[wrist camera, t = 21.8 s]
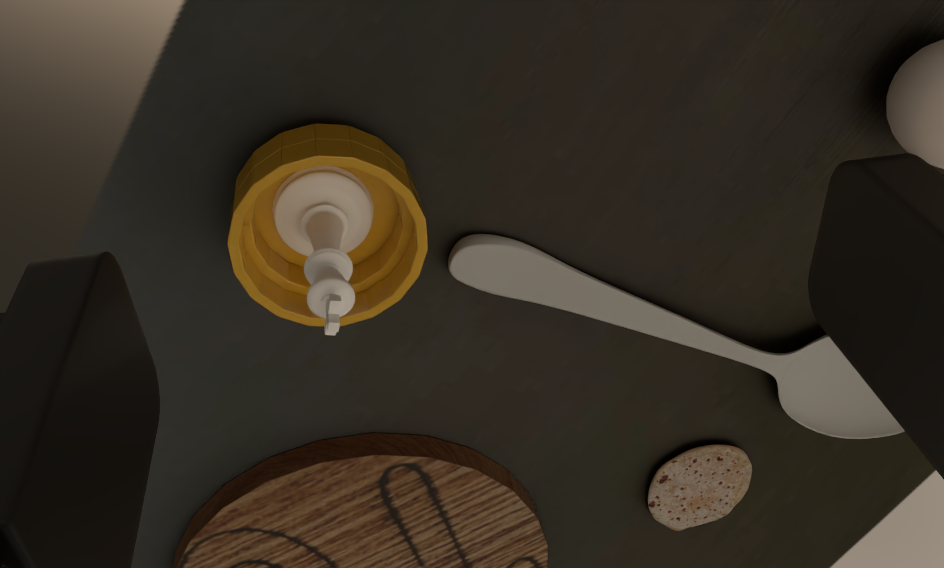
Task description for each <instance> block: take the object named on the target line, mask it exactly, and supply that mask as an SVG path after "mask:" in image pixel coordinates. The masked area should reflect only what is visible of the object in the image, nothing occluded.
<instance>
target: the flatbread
mask: <svg viewBox="0 0 944 568" xmlns="http://www.w3.org/2000/svg"><path fill="white" fill-rule="evenodd" d="M751 474H752V466H751V463H750V460H749V458H748V457H747V455H746V454H745V452H744V451H743V450H741V449H740V448H737V447H734V446H729V445H706V446H701V447H696V448H693V449H690V450H688V451H685V452H684V453H682V454H680V455H678V456H676V457H674V458H673V459H671V460H669V461H667V462H666V463H664V464H663V465H662V466H661V467H660V468H659V469H658V471H657V472H656V474H655V476H654V477H653V480H652V482H651V485H650V487H649V492H648V506H649V510H650V512H651V514H652V516H653V517H654V519H656V520H657V521H658V522H660V523H662V524H664V525H665V526H667V527H668V528H670V529H672V530H676V531H681V530H683V529H685V528H688V527H694V526H697V525H701V524H704V523H708V522H710V521H715V520H717V519H719V518H722V517H723V516H725V515H727V514H728V513H730V511H731V510H732V508H733V507H734V506H735V505H736V504H737V503H738V502H739V501H740V500H741V499H742V498H743V496H744V495H745V493H746V491H747V489H748V487H749V483H750V479H751Z"/></svg>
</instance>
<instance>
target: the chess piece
mask: <svg viewBox="0 0 944 568" xmlns="http://www.w3.org/2000/svg"><path fill="white" fill-rule="evenodd" d="M272 213H273V219H274V223H275V226H276V229H277V231H278V233H279V235H280V237H281V238H282V240H283V241H284V242H285V243H286V244H287V245H288V246H289V247H290V248H292V249H293V250H295V251H296V252H298V253H300V254H303V255H305V256H308V258H307V259H306V261H305V264H304V274H305V277H306V279H307V280H308V281H309V283H310V284H311V286H310V288H309V290H308V293H307V304H308V307H309V308H310V310H311V311H312V312H313V313H314V314H316V315H317V316H319V317H322V318H326V322H325V328H324V329H325V335H336V332H339V326H340V319H339V317H341V316H343V315H345V314H347V313H348V312H349V311H350V310H351V309H352V307H353V305H354V302H355V293H354V290H353V288H352V286H351V285H350V283H349V282H348V281H349V279H350V277H351V275H352V271H353V265H352V261H351V259H350V258H349V256H348V255H347V254H346V253H348V252H350V251H352V250H353V249H355V248H356V247H357V246H358V245H360V244H361V243H362V241H363V240H364V239H365V238H366V236H367V234H368V233H369V230H370V228H371V225H372V220H373V201H372V197H371V195H370V192H369V190H368V189H367V187H366V186H365V184H364V183H363V182H362V181H361V180H360V179H359V178H358V177H357V176H355V175H354V174H352V173H351V172H349V171H347V170H345V169H342V168H339V167H334V166H316V167H312V168H308V169H305V170H301V171H297V172H295V173H294V174H292V175H291V176H290V177H288V178H287V179H286V180H285V181H284V182H283V183H282V184H281V186H280V187H279V189H278V190H277V192H276V194H275V197H274V200H273V207H272Z"/></svg>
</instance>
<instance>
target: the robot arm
mask: <svg viewBox="0 0 944 568" xmlns="http://www.w3.org/2000/svg"><path fill="white" fill-rule="evenodd" d="M808 291H809V298H810V303H811V307H812V310H813V313H814V315H815V317H816V319H817V321H818V323H819V324H820V326H821V327H822V329H823V330H824V331H825V332H826V334H827V335H828V336H829V337H830V338H831V340H832V341H833V342H834V343H835V345H836V346H837V347H838V348H839V350H840V351H841V352H842V353H843V355H844V356H845V357H846V358H847V360H848V361H849V362H850V363H851V365H852V366H853V367H854V368H855V370H856V371H857V372H858V373H859V375H860V376H861V377H862V378H863V380H864V381H865V382H866V383H867V385H868V386H869V387H870V388H871V389H872V391H873V392H874V393H875V394H876V396H877V397H878V398H879V399H880V401H881V402H882V403H883V404H884V406H885V407H886V408H887V409H888V411H889V412H890V413H891V414H892V416H893V417H894V418H895V419H896V421H897V422H898V423H899V424H900V426H901V427H902V428H903V429H904V431H905V432H906V433H907V434H908V436H909V437H910V438H911V439H912V440H913V442H914V443H915V444H916V445H917V447H918V448H919V449H920V450H921V452H922V453H923V454H924V455H925V457H926V458H927V459H928V460H929V462H930V463H931V464H932V465H933V467H934V468H935V469H936V470H937V472H938V473H939V474H940V475H941V476H942V478H943V479H944V175H943V174H941V173H940V172H939V171H937V170H936V169H935V168H933V167H932V166H931V165H930V164H928V163H927V162H926V161H924V160H923V159H922V158H920V157H919V156H917V155H914V154H909V153H906V154H898V155H890V156H882V157H874V158H866V159H858V160H850V161H845V162H843V163H841V164H840V165H839V166H838V167H837V168H836V169H835V171H834V172H833V174H832V177H831V179H830V183H829V187H828V191H827V196H826V200H825V204H824V209H823V213H822V218H821V222H820V227H819V231H818V236H817V240H816V245H815V249H814V253H813V258H812V262H811V267H810V271H809V279H808ZM159 414H160V395H159V386H158V379H157V374H156V369H155V366H154V362H153V359H152V356H151V354H150V351H149V348H148V345H147V342H146V339H145V336H144V334H143V331H142V328H141V325H140V322H139V319H138V317H137V314H136V311H135V308H134V305H133V302H132V299H131V297H130V294H129V291H128V288H127V285H126V282H125V279H124V277H123V274H122V271H121V269H120V266H119V264H118V262H117V261H116V259H115V257H114V256H113V255H112V254H111V253H109V252H100V253H92V254H84V255H76V256H68V257H60V258H52V259H44V260H37V261H33V262H31V263H30V264H29V265H28V266H27V268H26V270H25V272H24V274H23V276H22V278H21V280H20V283H19V285H18V287H17V289H16V291H15V293H14V296H13V298H12V300H11V302H10V304H9V306H8V309H7V310H6V313H0V568H131V563H132V558H133V553H134V548H135V542H136V537H137V532H138V527H139V522H140V516H141V511H142V506H143V501H144V495H145V490H146V485H147V480H148V475H149V469H150V464H151V459H152V454H153V448H154V443H155V438H156V433H157V427H158V422H159Z"/></svg>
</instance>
